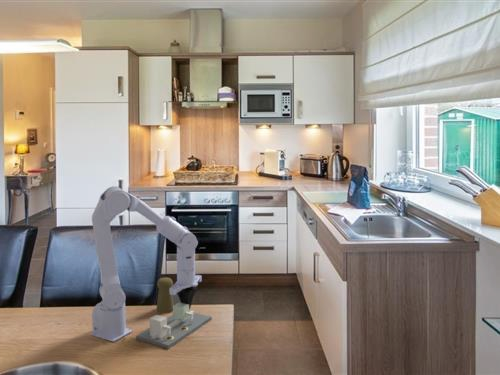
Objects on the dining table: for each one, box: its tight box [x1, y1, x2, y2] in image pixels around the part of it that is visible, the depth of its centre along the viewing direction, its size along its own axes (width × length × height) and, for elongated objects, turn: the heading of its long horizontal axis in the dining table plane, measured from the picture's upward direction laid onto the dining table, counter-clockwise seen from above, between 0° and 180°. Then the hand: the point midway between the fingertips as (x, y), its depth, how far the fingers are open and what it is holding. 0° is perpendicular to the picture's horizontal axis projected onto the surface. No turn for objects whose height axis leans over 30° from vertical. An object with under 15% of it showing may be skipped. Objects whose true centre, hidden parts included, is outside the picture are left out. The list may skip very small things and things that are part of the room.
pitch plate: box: [135, 310, 212, 350], centre depth 140 cm, size 12×22×6 cm, turn 152°
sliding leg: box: [172, 301, 193, 323], centre depth 142 cm, size 6×3×5 cm, turn 62°
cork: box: [156, 277, 175, 314], centre depth 154 cm, size 6×6×11 cm
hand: (186, 309), depth 145 cm, fingers closed
